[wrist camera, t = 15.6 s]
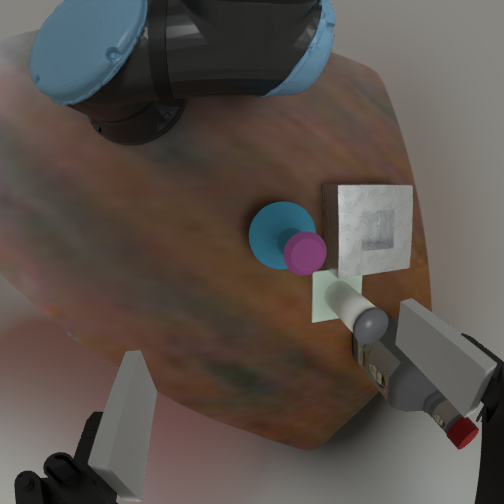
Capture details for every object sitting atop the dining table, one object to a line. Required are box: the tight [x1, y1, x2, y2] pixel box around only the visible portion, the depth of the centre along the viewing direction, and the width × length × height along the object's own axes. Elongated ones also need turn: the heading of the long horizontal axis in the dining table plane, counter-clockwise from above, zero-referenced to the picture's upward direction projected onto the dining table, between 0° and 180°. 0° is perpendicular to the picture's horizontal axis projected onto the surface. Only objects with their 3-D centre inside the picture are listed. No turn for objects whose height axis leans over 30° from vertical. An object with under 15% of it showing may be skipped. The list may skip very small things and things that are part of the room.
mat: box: [311, 269, 362, 323], centre depth 47 cm, size 9×9×1 cm
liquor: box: [353, 315, 479, 449], centre depth 36 cm, size 9×9×30 cm
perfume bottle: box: [249, 201, 327, 275], centre depth 36 cm, size 9×9×15 cm
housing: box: [322, 184, 413, 279], centre depth 42 cm, size 13×13×6 cm
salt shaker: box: [325, 281, 388, 344], centre depth 41 cm, size 5×5×12 cm
